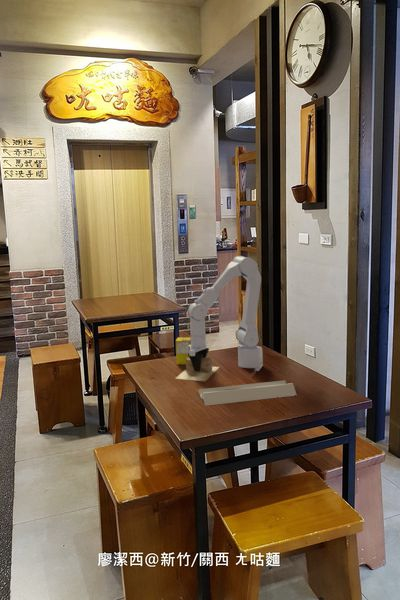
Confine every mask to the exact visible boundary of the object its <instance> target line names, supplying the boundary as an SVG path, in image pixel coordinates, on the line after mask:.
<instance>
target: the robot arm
mask: <svg viewBox="0 0 400 600" xmlns="http://www.w3.org/2000/svg"><path fill="white" fill-rule="evenodd" d="M258 265H259V264H258V263H257V262H256V261H255V260H254V259H253V258H252V257H246V256H243V255H237V256H235V257H234V258H233V259H232V261H230V262H229V263H228V265H227V266H226V268H225V269H224V270H223V272H222V273H221V274H220V276H219V277H218V278H217V279H216V281H215V282H214V283H213V285H212V286H210V287H206V288H203V290H201V291H202V293H201V294H200V296H199V297H198V298H197V299H194V301H193V303H191V304H190V305H189V306H188V310H187V311H186V312H187V314H188V316H189V330H190V331H189V332H190V333H189V334H190V337H191V345H188V348H190V351H189V353H188V357H189V358H190V360H191V362H192V365H193V368H194V371H200V367H201V359H202V357H206V358H207V356H208V353H209V351H210V348H209V347H208V341H207V340H206V338H207V337H206V335H207V334H206V318H207V315H208V310H210V308H211V307H213V305H214V303H215V302H217V300H218V299H219V297H220V296H219V293H220V292H221V291H222V290H223V289H224V288H225V287H226V285H228V283H229V282H230V281H231V280H232V279H233V278H236V277H240V276H242V277H243V278H244V279H245V280H246V287H245V288H246V289H245V292H244V293H245V295H244V303H243V311H242V316H241V317H242V318H241V321H240V322H239V324H238V327H237V330H236V331H235V339H236V341H238V344H237V359H238V360H237V363H238V367H239V368H242V369H243V368H245V369H254V370H253V371H254V372H259V371H260V370H261V369H262V367H263V366H264V364H263V363H264V362H263V361H264V360H263V347H262V346H259V345H258V343H259V335H258V326H257V323H256V321H257V313H258V306H259V299H260V290H261V286H262V285H261V284H262V276H261V273H260V269H259V267H258Z"/></svg>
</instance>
